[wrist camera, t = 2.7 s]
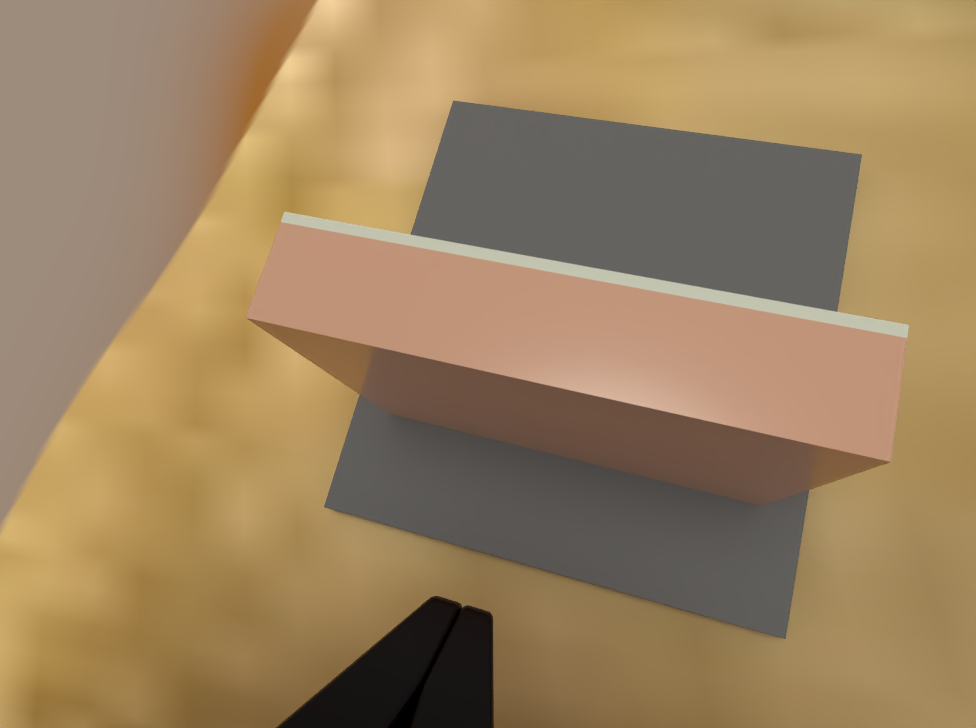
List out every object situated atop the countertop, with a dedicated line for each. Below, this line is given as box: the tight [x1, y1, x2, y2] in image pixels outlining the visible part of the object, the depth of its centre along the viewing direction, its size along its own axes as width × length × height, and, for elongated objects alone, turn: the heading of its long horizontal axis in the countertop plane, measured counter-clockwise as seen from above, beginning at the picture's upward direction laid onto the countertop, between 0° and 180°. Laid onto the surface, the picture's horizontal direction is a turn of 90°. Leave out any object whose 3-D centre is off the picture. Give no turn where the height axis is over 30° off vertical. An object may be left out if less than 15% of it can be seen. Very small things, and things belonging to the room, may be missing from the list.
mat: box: [324, 101, 862, 639], centre depth 19 cm, size 13×12×1 cm
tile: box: [246, 212, 909, 506], centre depth 14 cm, size 2×10×8 cm, turn 75°
